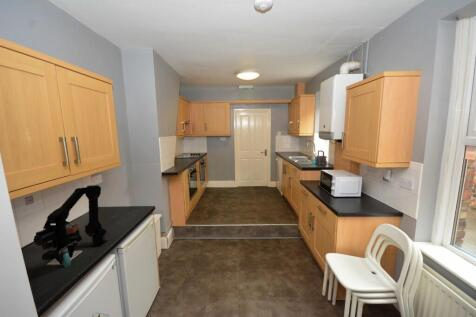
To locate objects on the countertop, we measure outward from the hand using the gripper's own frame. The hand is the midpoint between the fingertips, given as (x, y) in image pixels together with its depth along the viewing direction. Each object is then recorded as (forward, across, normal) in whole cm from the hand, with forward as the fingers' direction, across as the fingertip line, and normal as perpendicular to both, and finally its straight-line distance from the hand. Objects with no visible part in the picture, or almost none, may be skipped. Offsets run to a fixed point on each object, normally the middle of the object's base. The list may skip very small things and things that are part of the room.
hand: (66, 260), depth 111 cm
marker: (+3, 0, 0) cm, 3 cm away
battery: (+3, -29, -22) cm, 37 cm away
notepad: (+3, -7, -8) cm, 11 cm away
